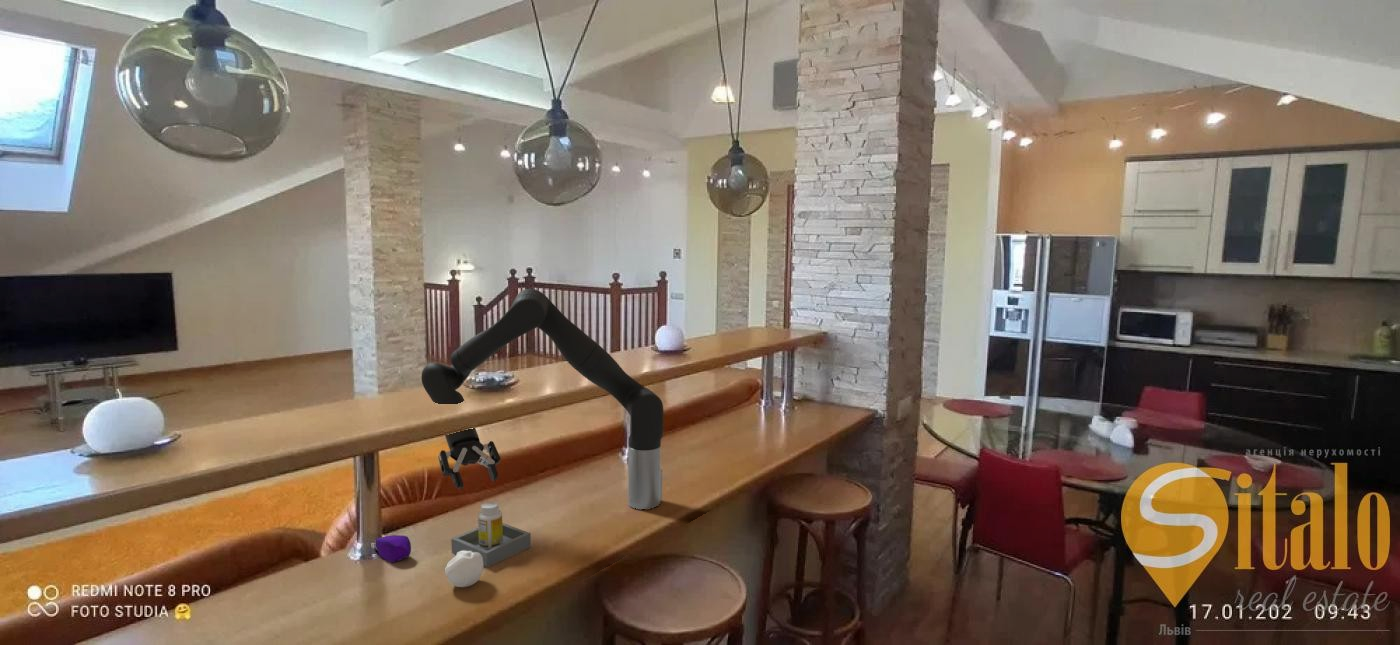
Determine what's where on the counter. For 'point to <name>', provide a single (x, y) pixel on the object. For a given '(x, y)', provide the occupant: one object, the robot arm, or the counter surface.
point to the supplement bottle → (490, 526)
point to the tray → (511, 545)
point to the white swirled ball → (464, 568)
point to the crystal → (393, 547)
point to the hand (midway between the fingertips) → (478, 483)
